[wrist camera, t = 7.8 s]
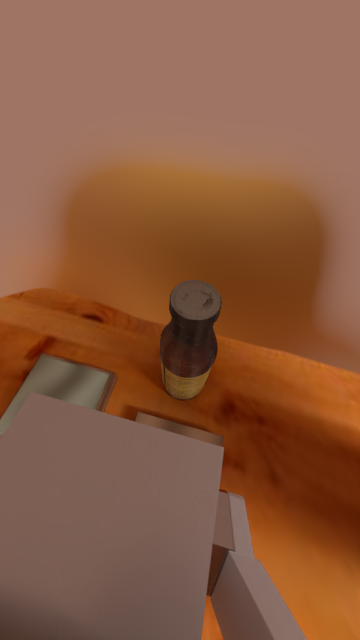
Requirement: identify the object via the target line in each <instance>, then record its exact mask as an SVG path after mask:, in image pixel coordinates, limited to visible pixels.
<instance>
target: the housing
mask: <svg viewBox="0 0 360 640" xmlns="http://www.w3.org/2000/svg"><path fill="white" fill-rule="evenodd" d="M223 455H224V447H221V446H217V445H214V444H211V443H207V442H204V441H200V440H197V439H193V438H190V437H186V436H183V435H179V434H176V433H173V432H169V431H166V430H162V429H159V428H155V427H152V426H148V425H145V424H142V423H138V422H135V421H131V420H128V419H124V418H121V417H117V416H114V415H111V414H107V413H104V412H100V411H97V410H93V409H90V408H86V407H83V406H80V405H76V404H73V403H69V402H66V401H62V400H59V399H55V398H52V397H48V396H45V395H42V394H38V393H35V392H30V394H29V395H28V397H27V398H26V400H25V402H24V403H23V405H22V407H21V408H20V410H19V412H18V413H17V415H16V416H15V418H14V420H13V421H12V423H11V425H10V426H9V428H8V430H7V431H6V433H5V435H4V436H3V438H2V439H1V441H0V640H201V634H202V626H203V618H204V610H205V602H206V593H207V585H208V577H209V569H210V561H211V553H212V544H213V536H214V528H215V520H216V512H217V504H218V495H219V487H220V479H221V471H222V463H223Z"/></svg>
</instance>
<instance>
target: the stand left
mask: <svg viewBox="0 0 360 640" xmlns="http://www.w3.org/2000/svg"><path fill="white" fill-rule="evenodd" d="M116 380H117V377H116V375H115V373H113V372H109V371H106V370H102V369H99V368H95V367H91V366H88V365H84V364H81V363H77V362H73V361H70V360H66V359H63V358H59V357H55V356H52V355H48V354H45V353H42V354H41V355H40V357H39V358H38V360H37V361H36V363H35V364H34V366H33V368H32V369H31V371H30V372H29V374H28V375H27V377H26V379H25V380H24V382H23V383H22V385H21V386H20V388H19V389H18V391H17V393H16V394H15V396H14V397H13V399H12V400H11V402H10V403H9V405H8V407H7V408H6V410H5V411H4V413H3V414H2V416H1V417H0V436H1V435H2V434H4V433H5V432H6V431H7V430H8V428H9V426H10V425H11V423H12V421H13V420H14V418H15V416H16V415H17V413H18V412H19V410H20V408H21V407H22V405H23V403H24V402H25V400H26V398H27V397H28V395H29V394H30V392H35V393H38V394H42V395H45V396H48V397H52V398H55V399H59V400H62V401H66V402H69V403H73V404H76V405H80V406H83V407H86V408H90V409H93V410H97V411H100V412H104V409H105V407H106V404H107V402H108V400H109V397H110V395H111V392H112V390H113V388H114V385H115V383H116Z"/></svg>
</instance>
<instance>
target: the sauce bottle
mask: <svg viewBox="0 0 360 640" xmlns="http://www.w3.org/2000/svg"><path fill="white" fill-rule="evenodd" d="M221 303H222V301H221V297H220V294H219V293H218V291H217V289H216V288H215V287H213V286H212V285H211V284H208V283H206V282H203V281H197V280H188V281H184V282H182V283H181V284H179V285H177V286H176V287H175V288H174V289H173V291H172V293H171V295H170V304H169V310H170V313H171V316H172V319H171V322H170V323H169V324H168V325H167V326H166V327H165V328H164V330H163V331H162V334H161V339H160V359H161V370H162V380H163V385H164V387H165V389H166V391H167V393H168V394H169V395H170V396H172V397H174V398H176V399H179V400H182V401H183V400H188V399H192V398H194V397H196V396H197V395H198V394H199V392H200V391H201V390H202V389H203V387H204V384H205V382H206V380H207V377H208V375H209V373H210V370H211V368H212V365H213V364H214V361H215V358H216V355H217V340H216V337H215V334H214V330H213V324H214V322H215V321H216V320H217V318H218V317H219V314H220V309H221Z"/></svg>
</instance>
